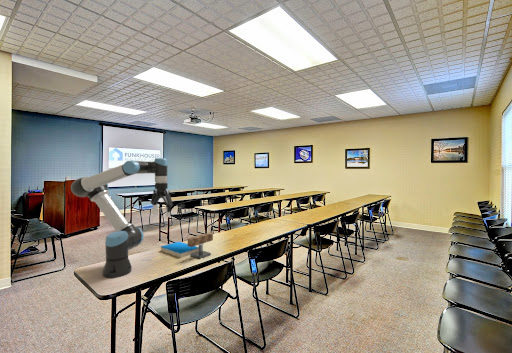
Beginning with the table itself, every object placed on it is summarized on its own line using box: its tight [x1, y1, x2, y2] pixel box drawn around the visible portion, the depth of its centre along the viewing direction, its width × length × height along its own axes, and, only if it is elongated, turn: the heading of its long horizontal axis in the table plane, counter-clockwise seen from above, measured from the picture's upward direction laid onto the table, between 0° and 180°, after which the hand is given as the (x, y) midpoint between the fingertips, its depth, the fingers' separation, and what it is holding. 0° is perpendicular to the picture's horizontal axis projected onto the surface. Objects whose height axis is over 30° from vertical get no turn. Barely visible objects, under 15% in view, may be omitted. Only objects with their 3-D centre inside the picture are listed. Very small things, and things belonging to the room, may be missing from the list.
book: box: [160, 241, 199, 259], centre depth 188 cm, size 17×4×25 cm
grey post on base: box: [190, 243, 212, 260], centre depth 178 cm, size 10×10×9 cm
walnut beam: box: [187, 232, 214, 247], centre depth 178 cm, size 20×4×5 cm, turn 144°
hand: (161, 216), depth 159 cm, fingers open, 13 cm apart
